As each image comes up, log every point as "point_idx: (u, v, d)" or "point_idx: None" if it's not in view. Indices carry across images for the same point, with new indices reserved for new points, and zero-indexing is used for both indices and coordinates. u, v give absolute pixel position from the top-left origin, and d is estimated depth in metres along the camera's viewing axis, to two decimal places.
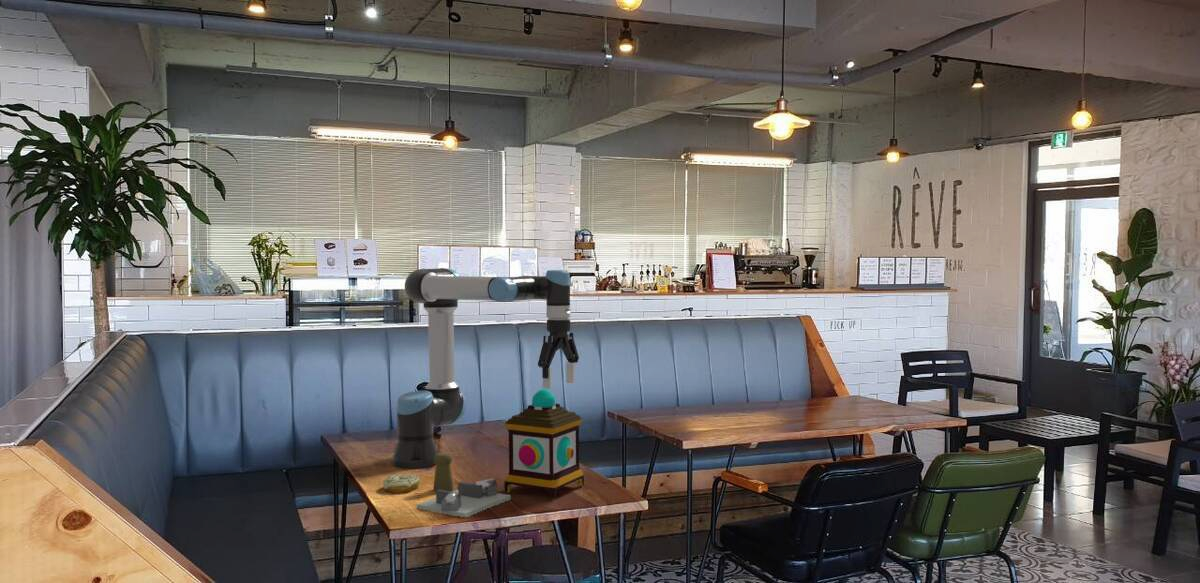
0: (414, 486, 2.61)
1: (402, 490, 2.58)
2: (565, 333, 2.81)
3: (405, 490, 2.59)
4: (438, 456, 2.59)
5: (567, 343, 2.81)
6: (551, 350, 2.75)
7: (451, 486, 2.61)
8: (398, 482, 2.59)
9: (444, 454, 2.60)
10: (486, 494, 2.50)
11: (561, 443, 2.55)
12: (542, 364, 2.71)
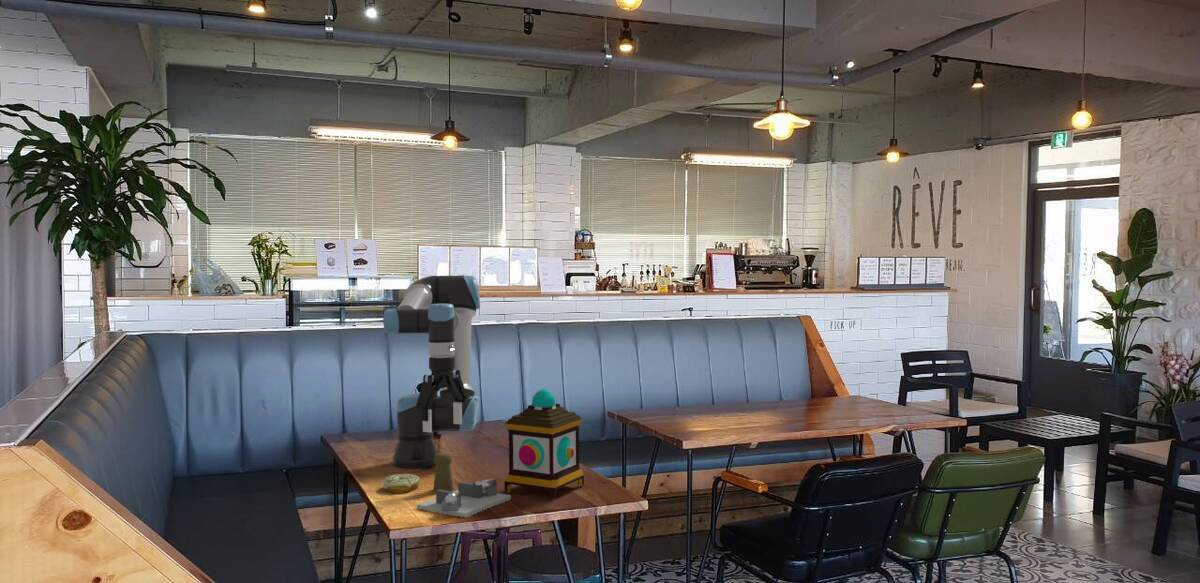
0: (414, 486, 2.61)
1: (402, 490, 2.58)
2: (450, 371, 2.62)
3: (405, 490, 2.59)
4: (438, 456, 2.59)
5: (452, 382, 2.62)
6: (432, 390, 2.56)
7: (451, 486, 2.61)
8: (398, 482, 2.59)
9: (444, 454, 2.60)
10: (486, 494, 2.50)
11: (561, 443, 2.55)
12: (420, 406, 2.52)
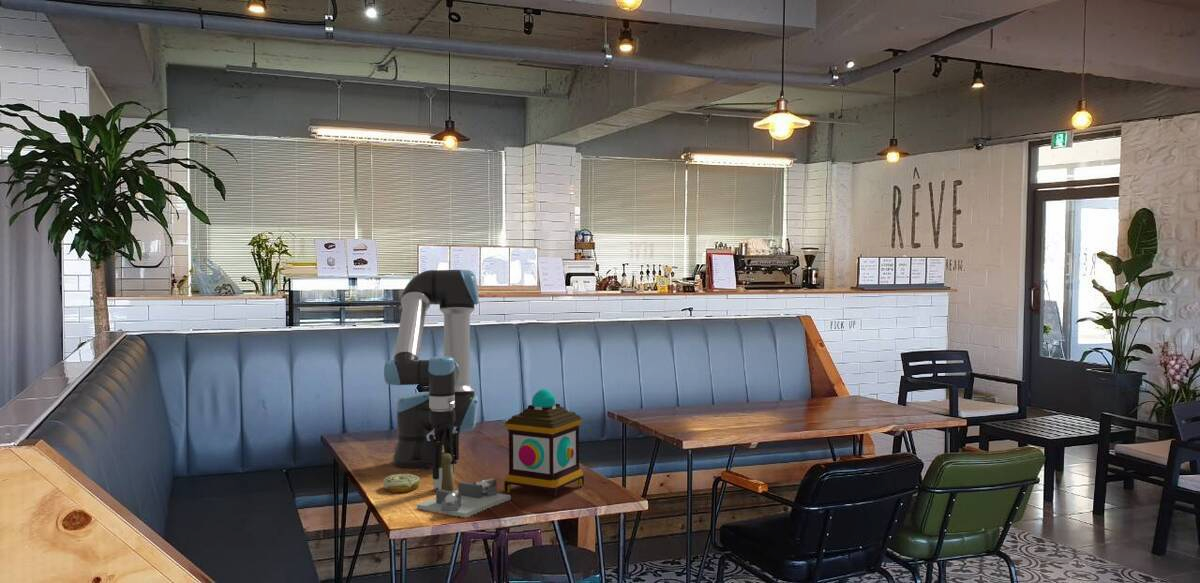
0: (414, 486, 2.61)
1: (402, 490, 2.59)
2: (451, 423, 2.63)
3: (405, 490, 2.59)
4: None
5: (450, 436, 2.62)
6: (437, 447, 2.58)
7: (451, 486, 2.61)
8: (398, 481, 2.59)
9: (444, 454, 2.60)
10: (486, 494, 2.50)
11: (561, 443, 2.55)
12: (431, 466, 2.56)
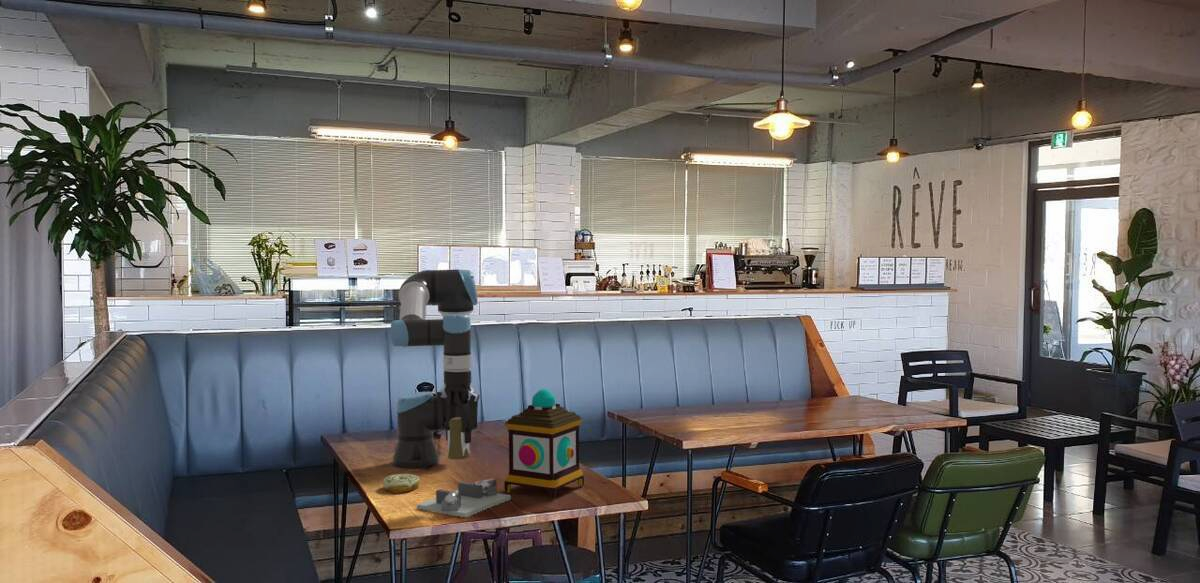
0: (414, 486, 2.61)
1: (402, 490, 2.59)
2: (463, 387, 2.43)
3: (405, 490, 2.59)
4: None
5: (458, 401, 2.43)
6: None
7: (453, 454, 2.43)
8: (399, 481, 2.59)
9: (453, 418, 2.45)
10: (486, 494, 2.50)
11: (561, 443, 2.55)
12: None
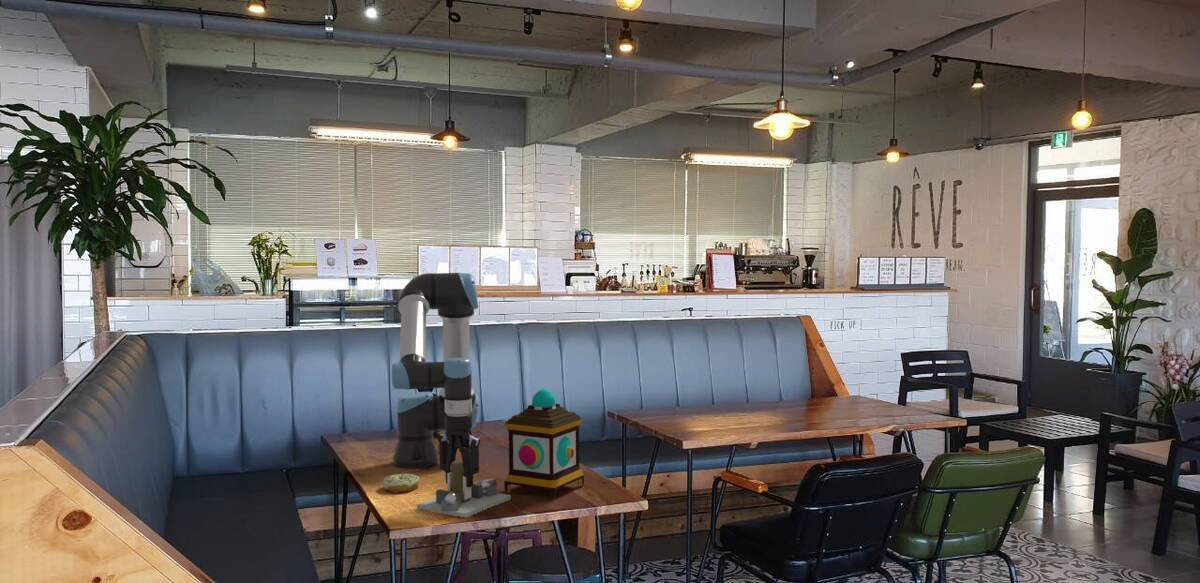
0: (414, 486, 2.61)
1: (403, 490, 2.59)
2: (463, 431, 2.43)
3: (406, 490, 2.59)
4: None
5: (459, 445, 2.43)
6: None
7: None
8: (399, 481, 2.59)
9: (454, 462, 2.45)
10: (486, 494, 2.50)
11: (561, 443, 2.55)
12: None
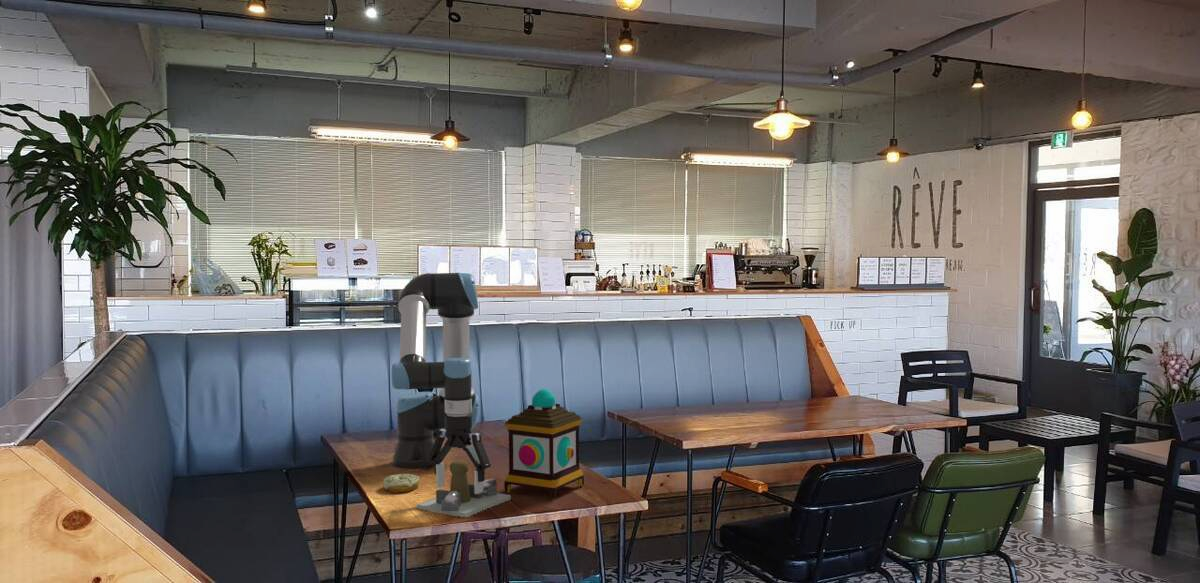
0: (415, 486, 2.61)
1: (403, 490, 2.59)
2: (462, 432, 2.43)
3: (406, 490, 2.59)
4: None
5: (461, 444, 2.43)
6: None
7: None
8: (399, 481, 2.59)
9: (454, 462, 2.45)
10: (486, 494, 2.50)
11: (561, 443, 2.55)
12: None
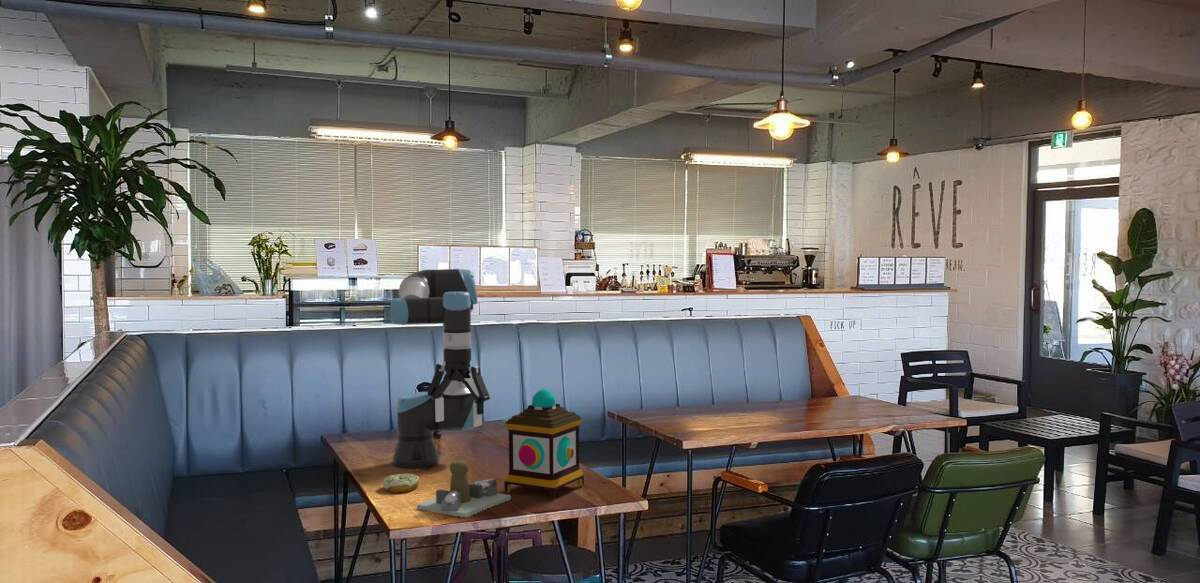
0: (415, 485, 2.61)
1: (403, 490, 2.59)
2: (461, 365, 2.43)
3: (406, 490, 2.59)
4: None
5: (461, 377, 2.42)
6: None
7: None
8: (399, 481, 2.59)
9: (454, 462, 2.45)
10: (486, 494, 2.50)
11: (561, 443, 2.55)
12: None
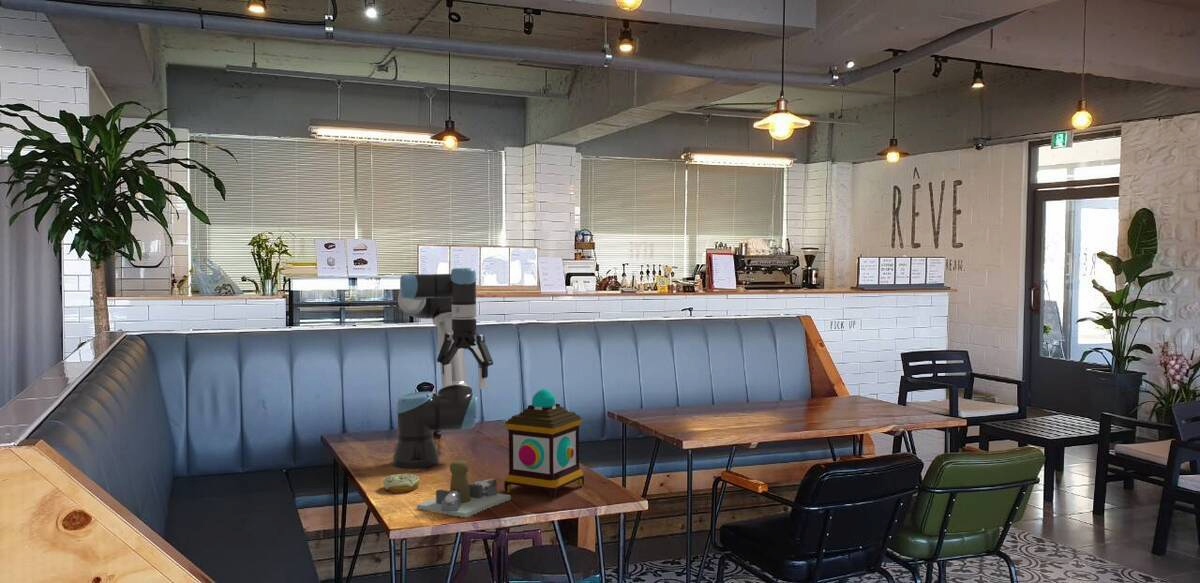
0: (415, 486, 2.61)
1: (404, 490, 2.59)
2: (467, 334, 2.70)
3: (407, 490, 2.59)
4: None
5: (467, 344, 2.69)
6: None
7: None
8: (400, 481, 2.59)
9: (454, 462, 2.45)
10: (486, 494, 2.50)
11: (561, 443, 2.55)
12: None
